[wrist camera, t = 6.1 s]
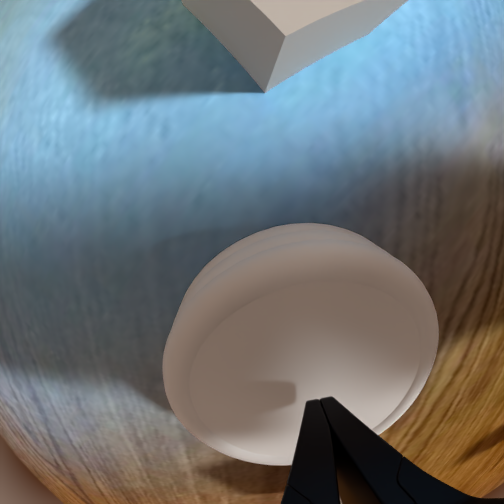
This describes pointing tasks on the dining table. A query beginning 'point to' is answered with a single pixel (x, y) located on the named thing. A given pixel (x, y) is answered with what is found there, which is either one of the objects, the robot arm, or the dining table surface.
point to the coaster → (296, 339)
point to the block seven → (287, 30)
